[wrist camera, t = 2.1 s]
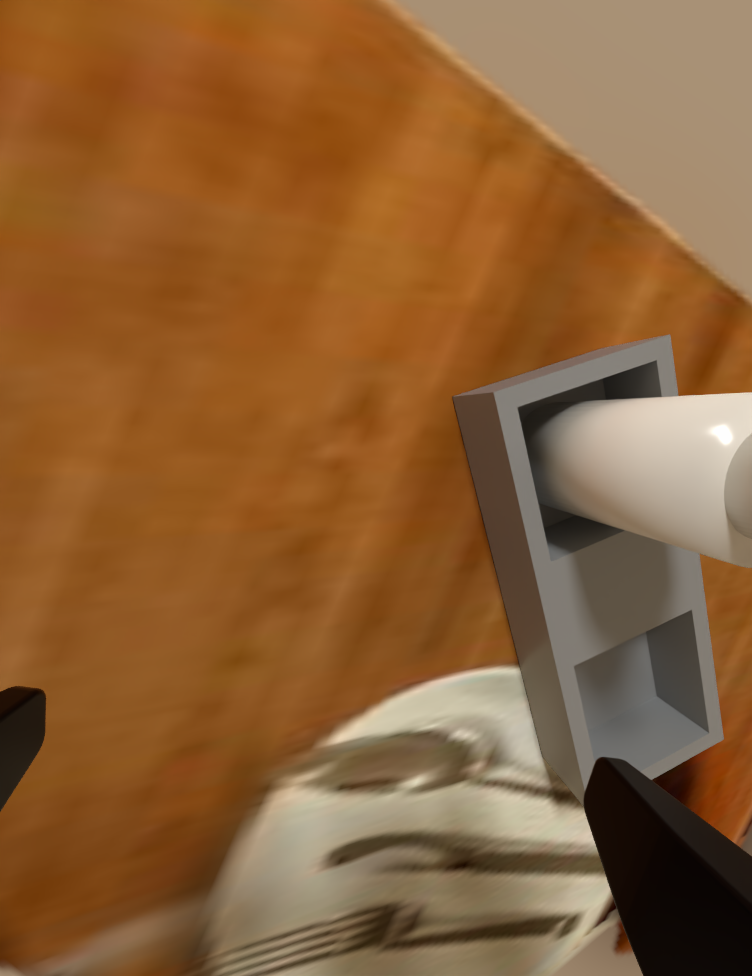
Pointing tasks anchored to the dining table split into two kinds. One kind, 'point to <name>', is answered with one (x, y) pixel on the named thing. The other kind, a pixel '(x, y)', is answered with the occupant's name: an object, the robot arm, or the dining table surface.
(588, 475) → the white stepped cylinder
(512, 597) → the caddy
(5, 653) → the dining table surface
